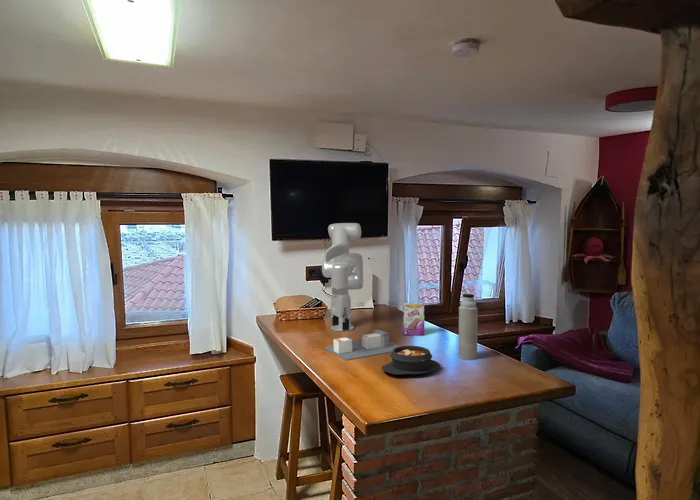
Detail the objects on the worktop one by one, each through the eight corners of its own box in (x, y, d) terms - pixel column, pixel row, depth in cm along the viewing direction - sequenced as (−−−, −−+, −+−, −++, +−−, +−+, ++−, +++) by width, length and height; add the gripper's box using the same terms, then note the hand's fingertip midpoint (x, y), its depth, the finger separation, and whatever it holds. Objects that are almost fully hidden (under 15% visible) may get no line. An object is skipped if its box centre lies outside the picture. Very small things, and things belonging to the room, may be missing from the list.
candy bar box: (403, 335, 241) (403, 304, 240) (403, 333, 246) (402, 302, 245) (424, 335, 240) (424, 304, 239) (424, 333, 245) (424, 303, 244)
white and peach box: (333, 351, 212) (333, 338, 212) (346, 348, 215) (346, 336, 215) (338, 353, 208) (338, 341, 207) (352, 351, 211) (352, 339, 211)
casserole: (397, 383, 172) (397, 361, 172) (372, 369, 189) (372, 348, 188) (450, 372, 184) (450, 351, 183) (422, 359, 200) (422, 340, 200)
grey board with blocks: (324, 348, 219) (323, 333, 219) (380, 338, 235) (379, 325, 234) (346, 360, 200) (346, 344, 199) (405, 349, 216) (405, 334, 215)
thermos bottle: (459, 353, 208) (459, 292, 206) (477, 355, 205) (478, 293, 203) (457, 359, 200) (458, 295, 198) (476, 360, 198) (477, 296, 196)
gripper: (324, 288, 215) (324, 324, 217) (342, 295, 200) (342, 333, 202) (338, 287, 219) (338, 322, 220) (356, 293, 204) (357, 331, 205)
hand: (340, 327), depth 211 cm, fingers open, 9 cm apart
